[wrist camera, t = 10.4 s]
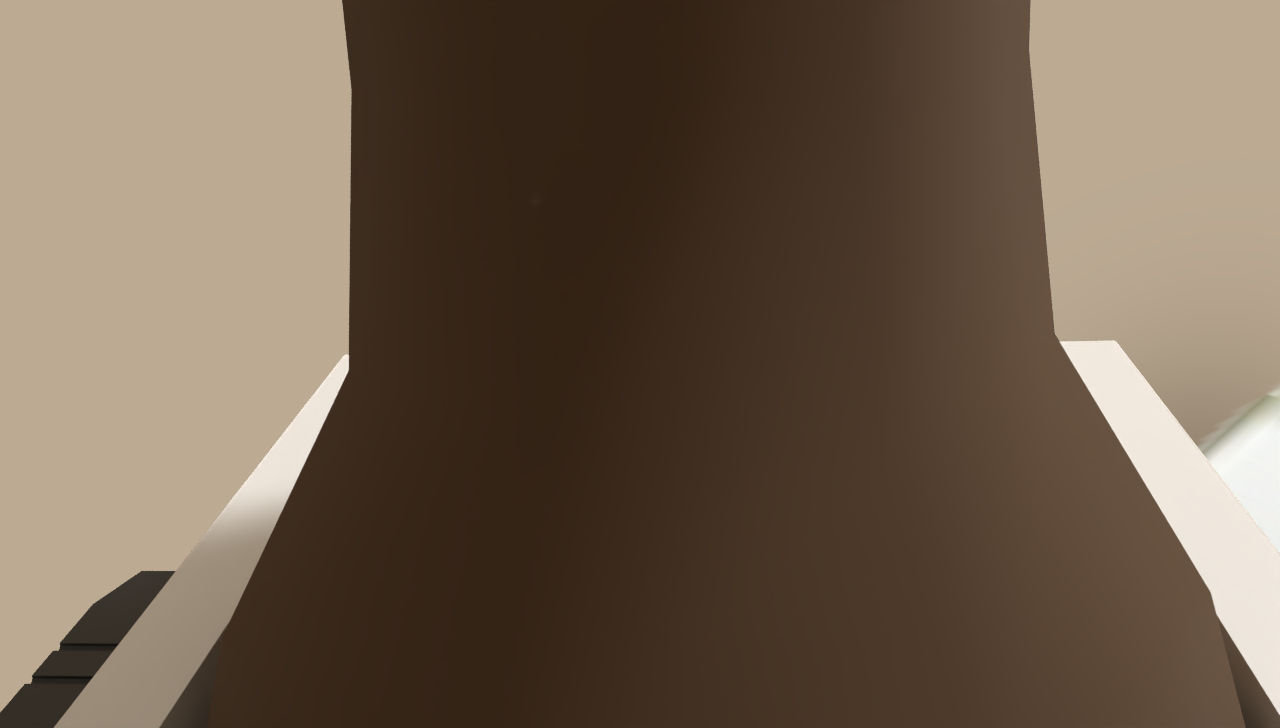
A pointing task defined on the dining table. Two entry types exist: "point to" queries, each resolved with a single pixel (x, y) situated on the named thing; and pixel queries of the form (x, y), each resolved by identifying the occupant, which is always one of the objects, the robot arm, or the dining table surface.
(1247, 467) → the dining table surface
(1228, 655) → the robot arm
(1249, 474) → the dining table surface
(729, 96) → the beer bottle
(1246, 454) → the dining table surface
